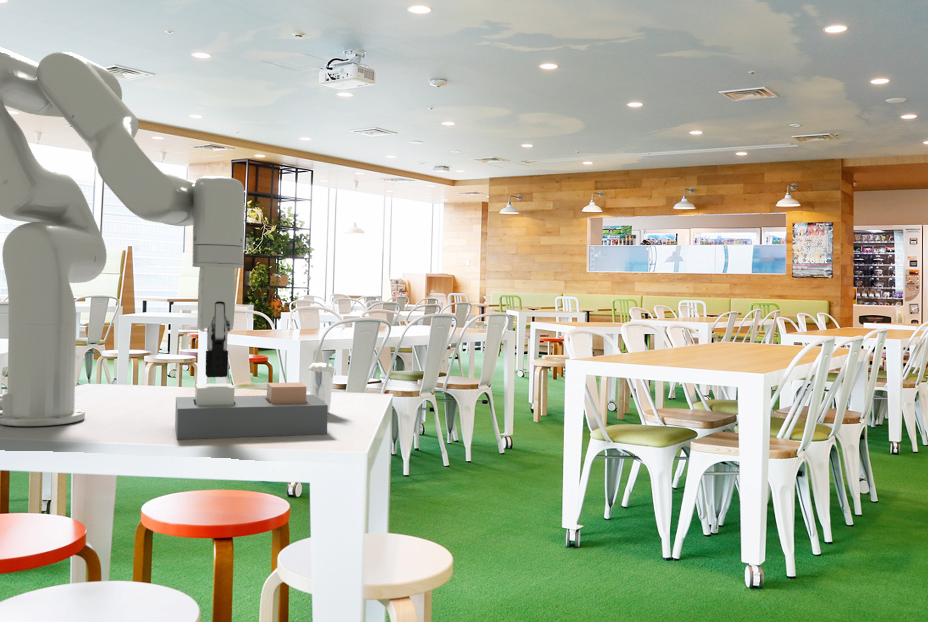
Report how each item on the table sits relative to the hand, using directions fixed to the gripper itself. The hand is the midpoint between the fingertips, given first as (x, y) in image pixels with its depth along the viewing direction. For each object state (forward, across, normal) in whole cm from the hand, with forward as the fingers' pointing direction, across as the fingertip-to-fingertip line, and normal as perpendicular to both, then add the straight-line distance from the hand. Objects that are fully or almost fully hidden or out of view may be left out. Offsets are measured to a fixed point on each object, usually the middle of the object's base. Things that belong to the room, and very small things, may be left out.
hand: (216, 376), depth 123 cm
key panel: (+8, 0, +5) cm, 10 cm away
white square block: (+5, 0, 0) cm, 6 cm away
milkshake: (+9, -14, +19) cm, 25 cm away
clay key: (+6, 0, +11) cm, 12 cm away
